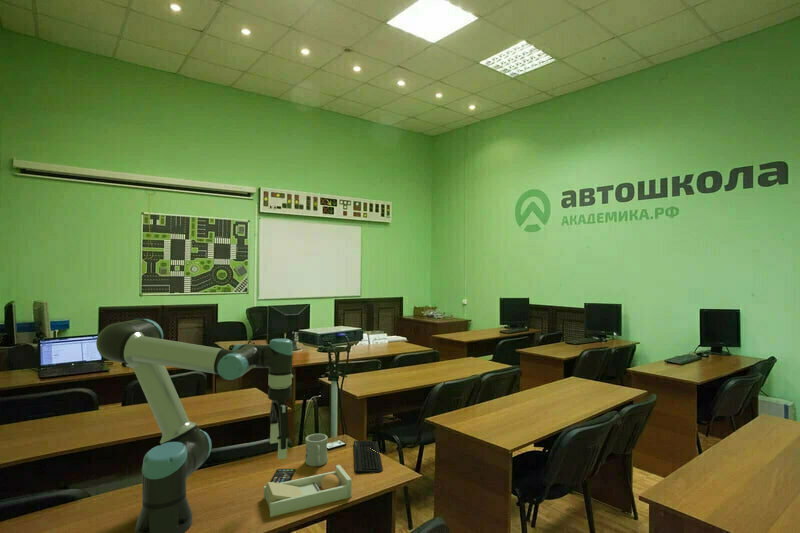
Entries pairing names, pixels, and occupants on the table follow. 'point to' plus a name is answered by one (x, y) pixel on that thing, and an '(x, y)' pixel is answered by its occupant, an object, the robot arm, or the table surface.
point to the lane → (305, 492)
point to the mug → (316, 450)
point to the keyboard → (367, 457)
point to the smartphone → (283, 475)
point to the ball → (330, 482)
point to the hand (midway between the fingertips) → (278, 450)
